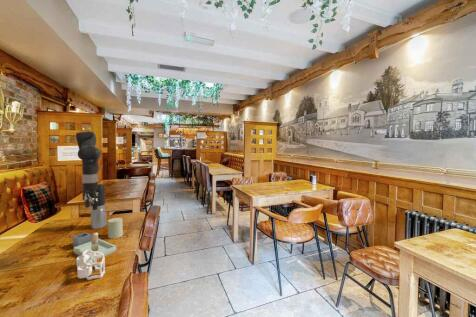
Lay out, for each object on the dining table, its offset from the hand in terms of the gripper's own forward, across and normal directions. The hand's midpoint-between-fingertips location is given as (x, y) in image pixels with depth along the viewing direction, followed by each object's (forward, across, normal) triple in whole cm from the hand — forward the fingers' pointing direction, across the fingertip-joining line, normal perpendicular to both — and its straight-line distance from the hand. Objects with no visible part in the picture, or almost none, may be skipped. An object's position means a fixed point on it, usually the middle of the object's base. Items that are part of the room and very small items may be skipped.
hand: (91, 208), depth 123 cm
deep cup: (+26, +14, -1) cm, 30 cm away
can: (+27, +10, -20) cm, 34 cm away
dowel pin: (+25, -2, 0) cm, 25 cm away
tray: (+26, -2, 0) cm, 26 cm away
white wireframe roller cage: (+26, -20, +11) cm, 35 cm away
